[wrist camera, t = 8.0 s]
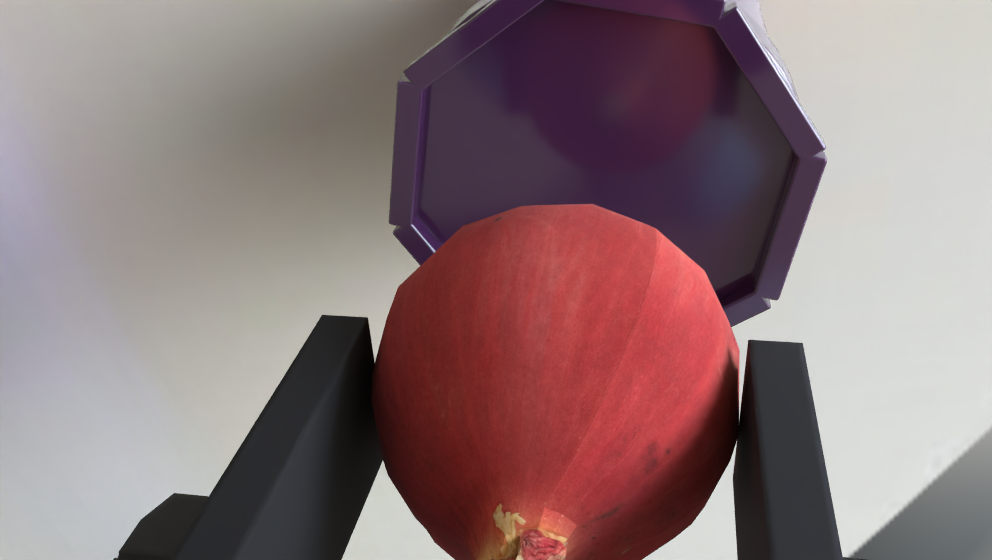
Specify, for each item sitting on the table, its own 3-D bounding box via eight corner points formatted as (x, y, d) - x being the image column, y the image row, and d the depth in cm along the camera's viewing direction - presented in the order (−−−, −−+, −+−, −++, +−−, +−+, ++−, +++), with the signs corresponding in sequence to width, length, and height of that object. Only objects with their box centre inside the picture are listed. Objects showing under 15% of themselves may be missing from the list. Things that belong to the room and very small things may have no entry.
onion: (726, 392, 18) (746, 772, 12) (453, 383, 20) (332, 724, 13) (736, 124, 15) (773, 428, 9) (415, 133, 17) (232, 406, 10)
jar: (590, 208, 35) (548, 418, 24) (435, 3, 32) (308, 140, 21) (822, 71, 30) (894, 252, 20) (668, -181, 27) (656, -126, 17)
